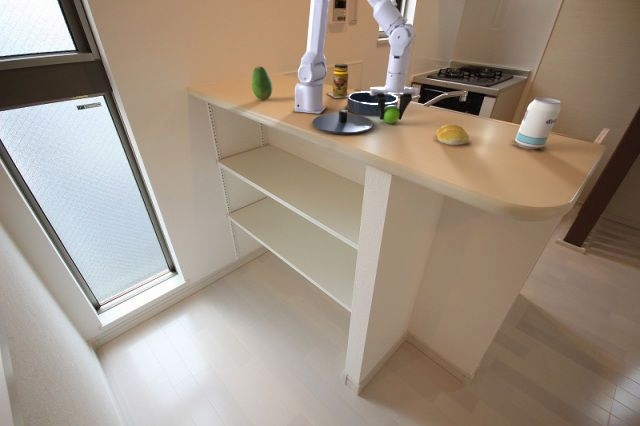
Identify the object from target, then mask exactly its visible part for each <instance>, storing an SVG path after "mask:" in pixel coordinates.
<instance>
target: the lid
mask: <svg viewBox="0 0 640 426" xmlns="http://www.w3.org/2000/svg"><path fill="white" fill-rule="evenodd" d="M348 111H349V110H348V109H339V110H338V112H335V113H326V114H322V115H318V116H316V117H315V118H314V119H312V126H313V127H314V128H316V129H318V130H319V131H322V132H326V133H329V134H330V133H331V134H338V135H352V134H353V135H354V134H360V133H364V132H367V131H370V130H371V129H372V128H373V126H374V122H373V120H371V119H370V118H368V117H367V116H364V115H360V114H356V113H349V112H348Z"/></svg>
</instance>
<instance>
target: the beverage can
mask: <svg viewBox="0 0 640 426" xmlns="http://www.w3.org/2000/svg"><path fill="white" fill-rule="evenodd" d="M561 110H562V107H561V101H560V100H558V99H556V98H550V97H535V98H534V100H533V101H531V102H530V103H529V105H528V106H527V109H526V111H525V113H524V116H523V118H522V121H521V123H520V126H519V128H518V131H517V134H516V137H515V139H514V141H515V143H516V144H517V146H518V147H521V148H523V149H526V150H527V149H528V150H538V149H539V148H543V147H544V146H545V145H546V143H547V140H548V139H549V136H550V134H551V132H552V130H553V128H554V127H555V124H556V122H557V119H558V117H559V115H560V112H561Z"/></svg>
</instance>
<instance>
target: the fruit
mask: <svg viewBox="0 0 640 426" xmlns="http://www.w3.org/2000/svg"><path fill="white" fill-rule="evenodd" d="M251 90H252V92H253V94H254V96H255V97H256V98H257V99H258V100H261V101H265V100H268V99H269V98H270V97H271V96H272V94H273V82H272V79H271V78H270V75H269V73H268V71H267V70H266V68H265V67H263V66H260V65H259V66H256V67H255V68H254V69H253V72H252V79H251Z"/></svg>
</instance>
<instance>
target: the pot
mask: <svg viewBox="0 0 640 426" xmlns="http://www.w3.org/2000/svg"><path fill="white" fill-rule="evenodd" d="M347 95H348V97H347V101H346V110H347V111H349V112H350V113H352V114H355V115H360V116H366V117H367V116H368V117H369V116H370V117H380V114H379V107H378V102H377V99H376V96H375V95H370V91H358V92H352V93H350V94H347ZM385 98H386V102H385V107H384V109H385V108H386V107H387V106H390V105H393V106H396V107H397V108H398V105H399V104H398V103H399V98H398V96H397V95H385Z"/></svg>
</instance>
